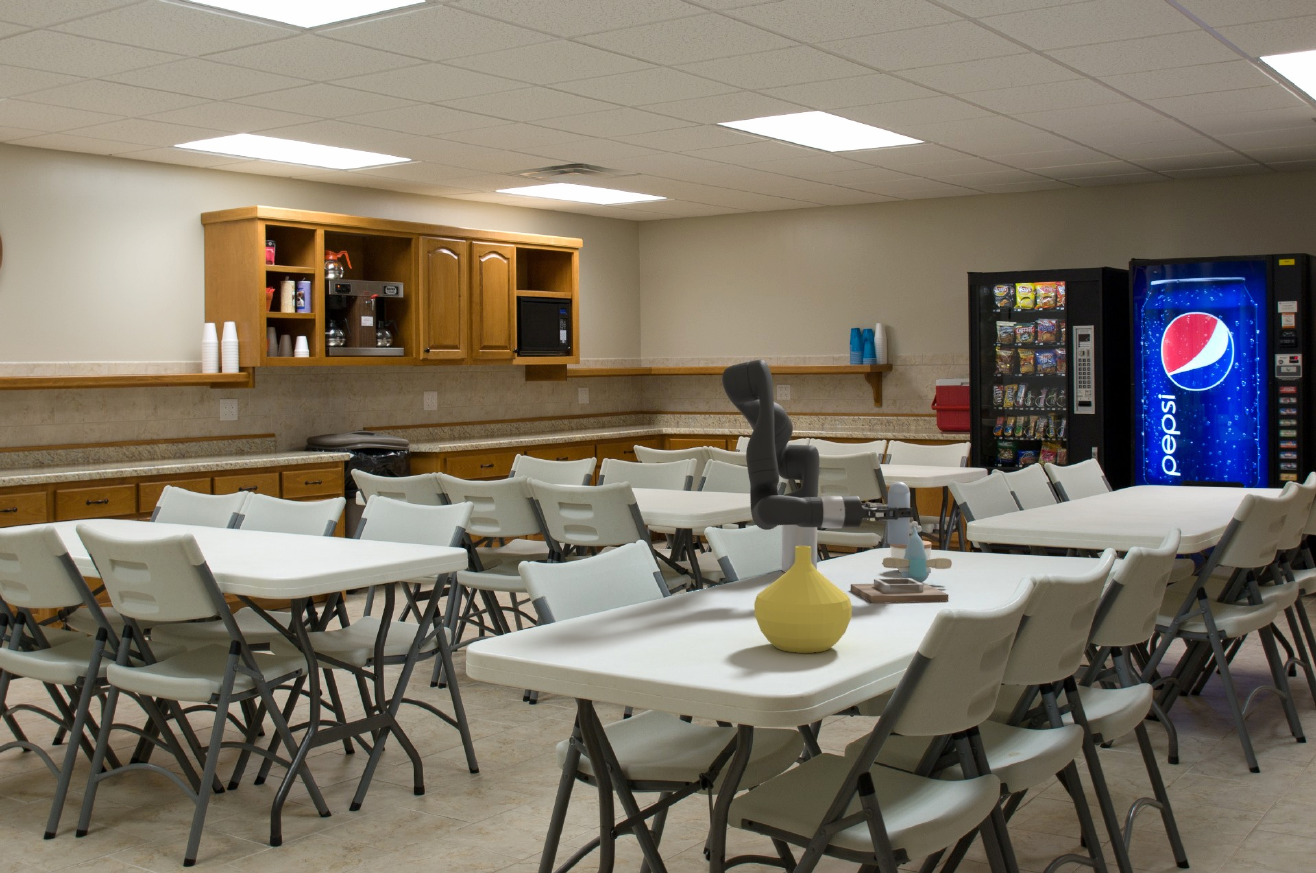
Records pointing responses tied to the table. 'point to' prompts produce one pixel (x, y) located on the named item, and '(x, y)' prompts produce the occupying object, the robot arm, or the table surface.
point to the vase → (803, 608)
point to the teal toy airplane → (916, 558)
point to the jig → (898, 591)
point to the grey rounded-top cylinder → (899, 527)
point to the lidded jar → (900, 549)
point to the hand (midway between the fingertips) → (909, 511)
